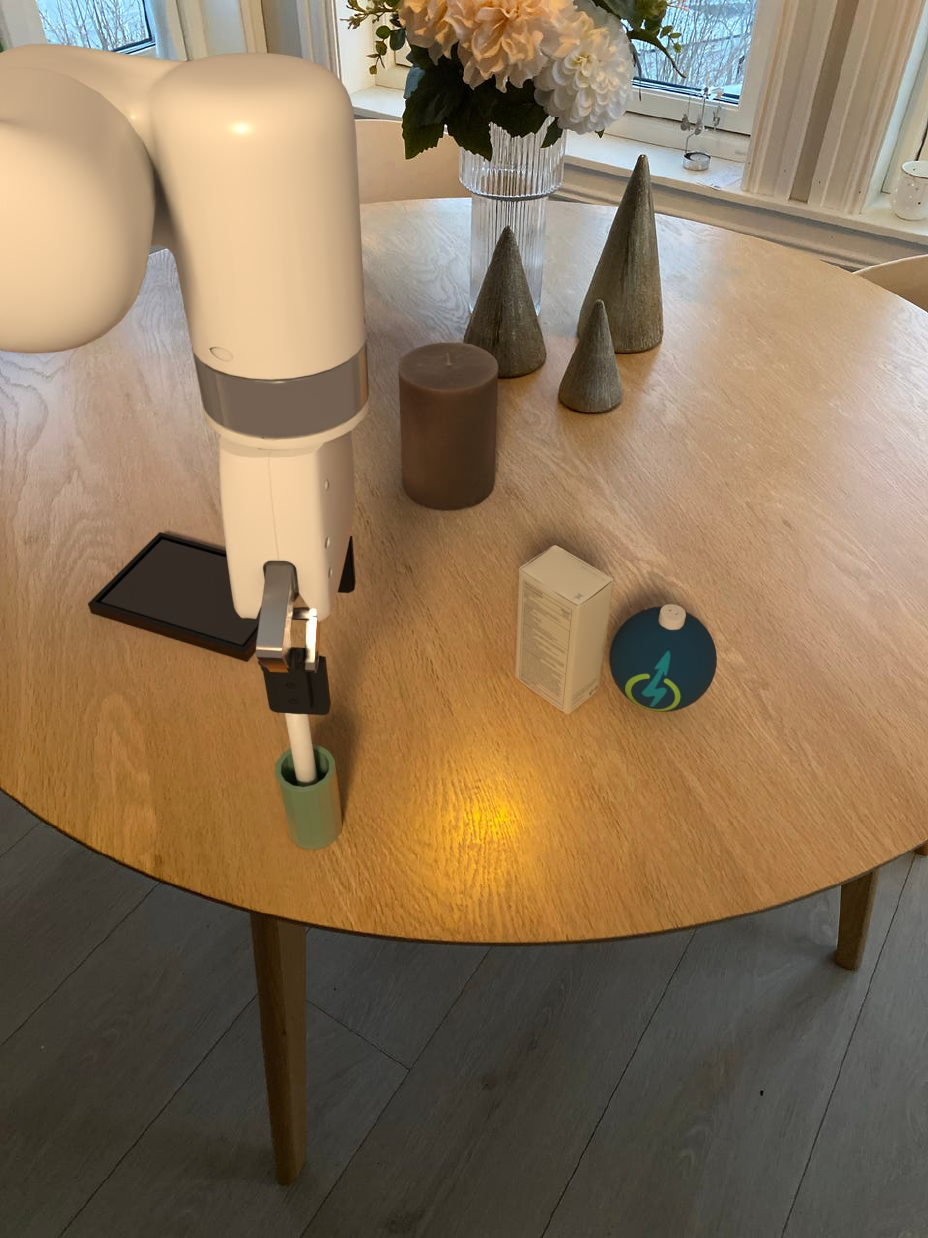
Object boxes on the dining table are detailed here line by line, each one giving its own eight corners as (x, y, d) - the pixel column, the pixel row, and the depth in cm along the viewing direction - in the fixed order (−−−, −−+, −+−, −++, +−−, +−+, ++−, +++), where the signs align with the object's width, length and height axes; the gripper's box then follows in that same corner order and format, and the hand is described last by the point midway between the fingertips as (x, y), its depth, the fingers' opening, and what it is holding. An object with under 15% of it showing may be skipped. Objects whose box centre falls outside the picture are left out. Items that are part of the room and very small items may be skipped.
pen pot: (276, 840, 69) (263, 780, 64) (303, 796, 71) (293, 736, 67) (326, 858, 68) (317, 799, 63) (351, 813, 70) (345, 753, 66)
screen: (101, 603, 85) (100, 600, 85) (162, 541, 92) (162, 539, 91) (242, 646, 82) (242, 644, 81) (296, 579, 88) (295, 577, 88)
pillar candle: (485, 517, 96) (490, 383, 86) (391, 504, 98) (385, 371, 87) (501, 463, 103) (508, 333, 93) (413, 451, 105) (410, 323, 94)
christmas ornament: (583, 696, 79) (596, 607, 72) (641, 643, 84) (658, 555, 77) (669, 750, 75) (692, 662, 68) (725, 691, 80) (751, 603, 73)
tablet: (90, 613, 85) (87, 603, 85) (162, 541, 93) (159, 531, 92) (247, 662, 81) (245, 652, 80) (308, 582, 89) (307, 573, 88)
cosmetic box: (601, 690, 80) (619, 580, 71) (565, 718, 77) (580, 608, 69) (545, 651, 83) (556, 541, 74) (509, 677, 81) (516, 567, 72)
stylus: (300, 827, 69) (277, 697, 59) (309, 812, 70) (288, 681, 60) (318, 833, 69) (297, 703, 59) (327, 818, 70) (308, 688, 60)
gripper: (243, 287, 49) (279, 546, 61) (144, 484, 37) (214, 762, 49) (389, 294, 49) (397, 552, 61) (339, 494, 37) (361, 770, 48)
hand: (315, 645), depth 55 cm, fingers open, 9 cm apart
